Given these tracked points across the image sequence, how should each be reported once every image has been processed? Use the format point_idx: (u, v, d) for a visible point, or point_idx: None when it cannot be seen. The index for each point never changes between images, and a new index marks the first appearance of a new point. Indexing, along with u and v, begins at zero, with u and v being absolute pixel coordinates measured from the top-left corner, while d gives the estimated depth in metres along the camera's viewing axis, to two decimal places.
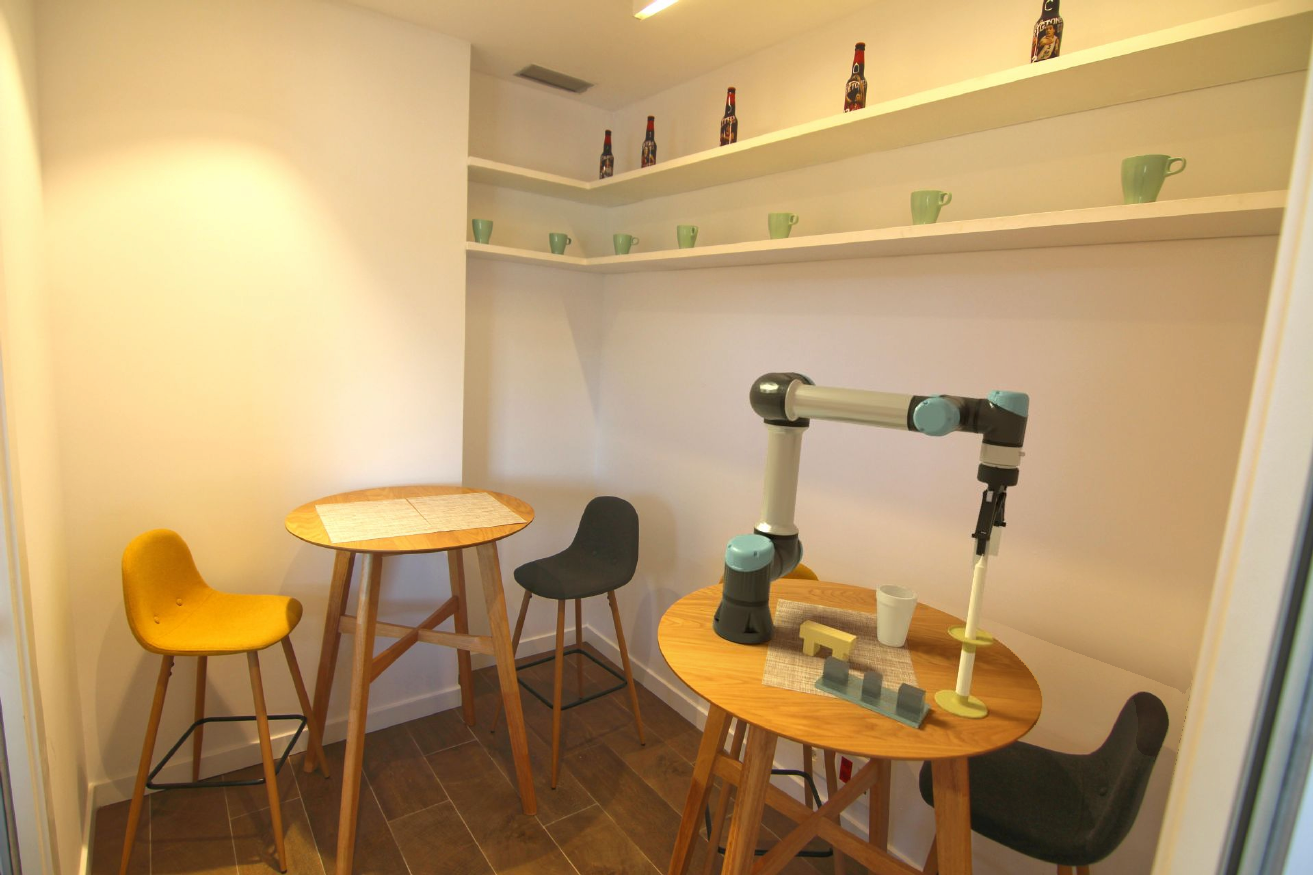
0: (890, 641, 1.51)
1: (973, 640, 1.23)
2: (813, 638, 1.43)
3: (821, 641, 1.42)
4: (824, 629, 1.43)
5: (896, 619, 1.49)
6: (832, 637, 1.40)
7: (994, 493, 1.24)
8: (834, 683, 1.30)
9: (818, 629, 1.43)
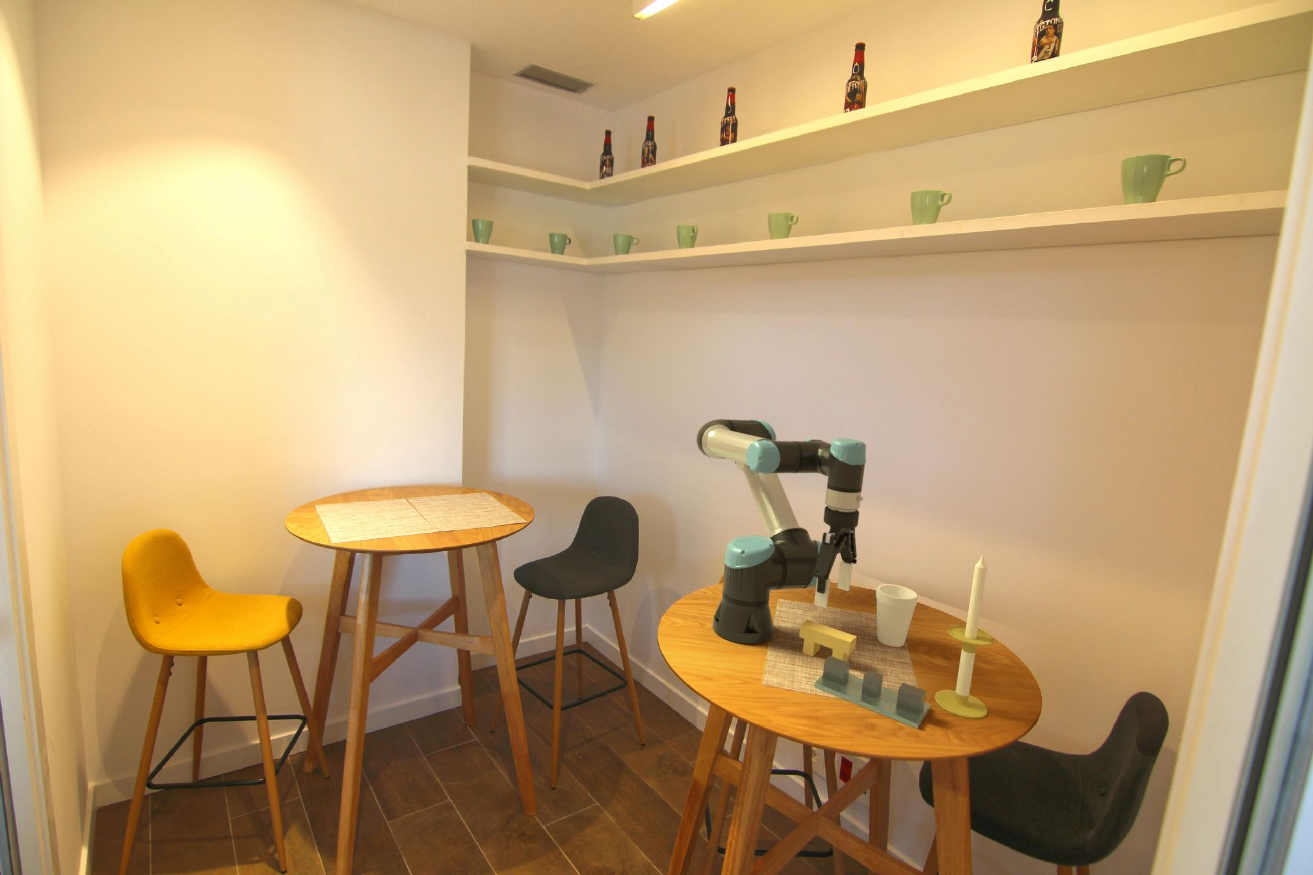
0: (890, 641, 1.51)
1: (973, 640, 1.23)
2: (813, 638, 1.43)
3: (821, 641, 1.42)
4: (824, 629, 1.43)
5: (896, 619, 1.49)
6: (832, 637, 1.40)
7: (832, 535, 1.34)
8: (834, 683, 1.30)
9: (818, 629, 1.43)
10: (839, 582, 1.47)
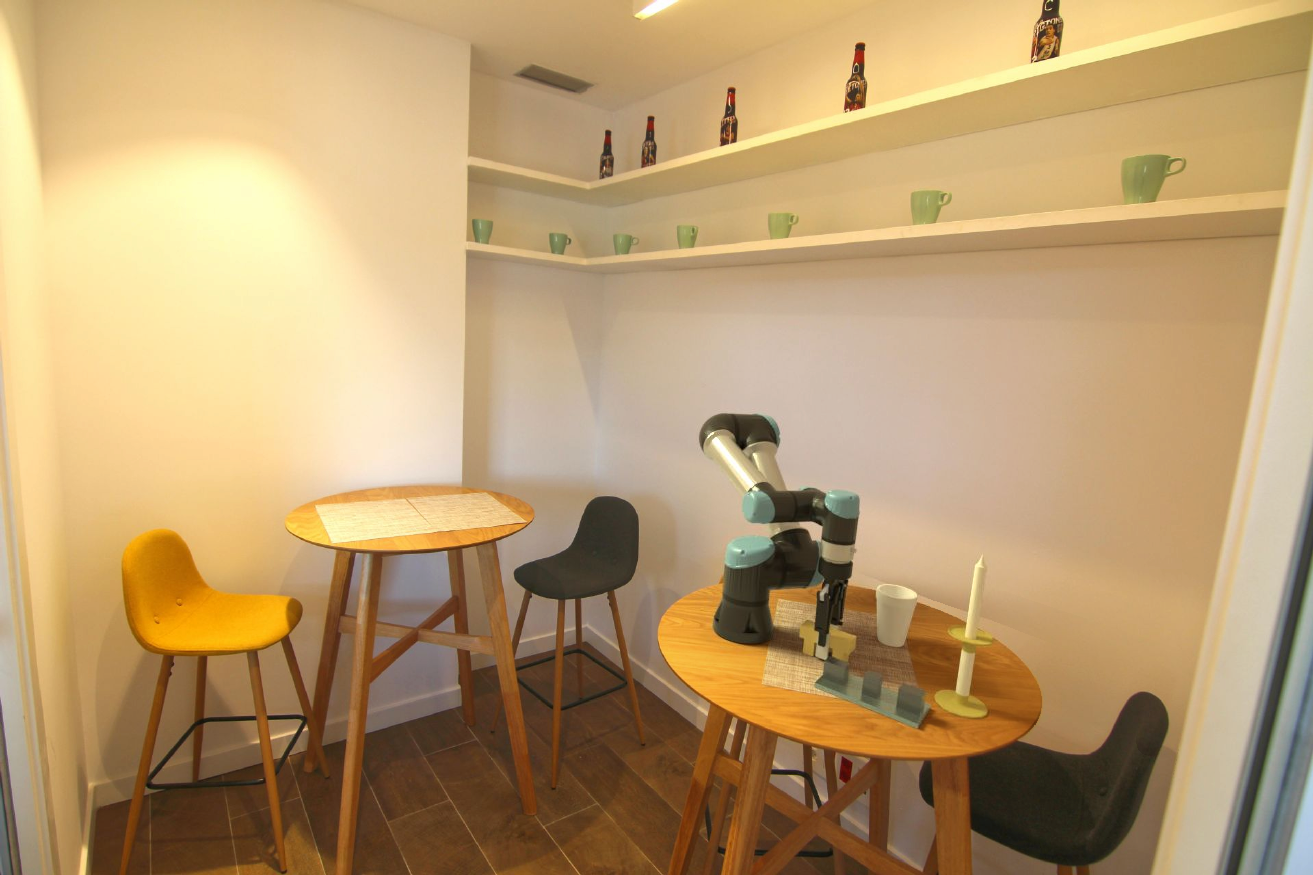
0: (890, 641, 1.51)
1: (973, 640, 1.23)
2: (813, 638, 1.43)
3: None
4: None
5: (896, 619, 1.49)
6: (832, 637, 1.40)
7: (825, 595, 1.36)
8: (834, 683, 1.30)
9: None
10: None
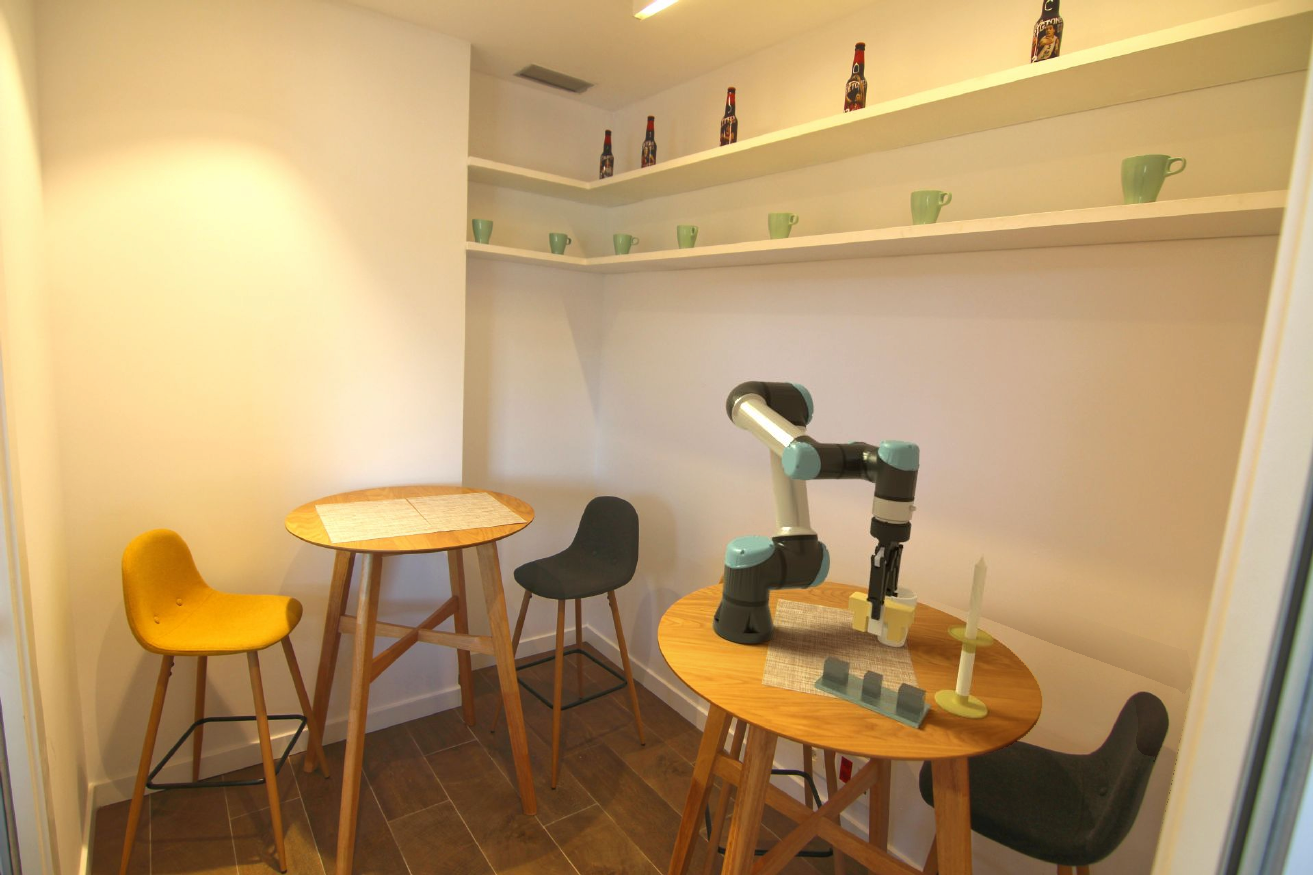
0: (890, 641, 1.51)
1: (973, 640, 1.23)
2: (865, 611, 1.25)
3: None
4: None
5: None
6: (888, 609, 1.22)
7: (881, 559, 1.18)
8: (834, 683, 1.30)
9: None
10: None
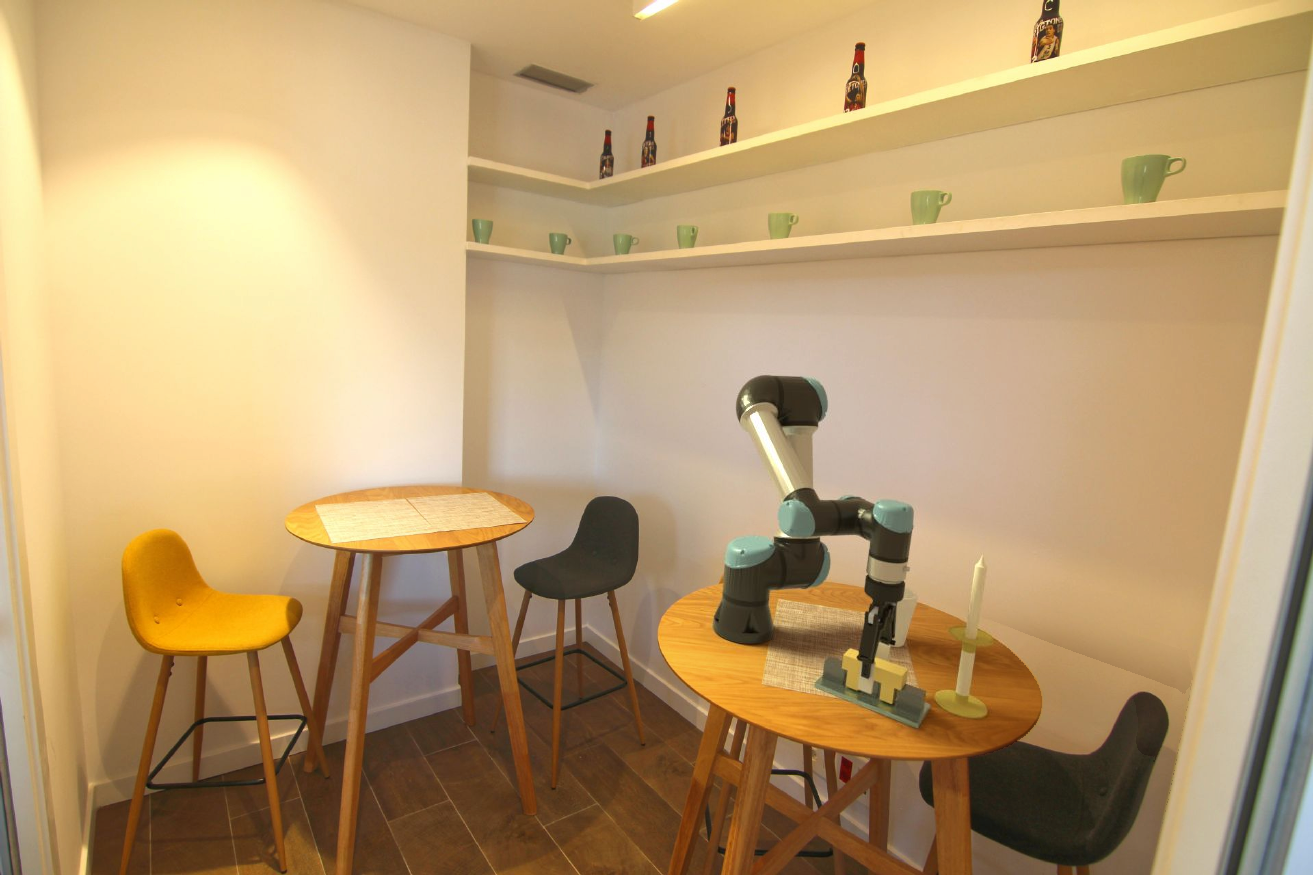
0: None
1: (973, 640, 1.23)
2: (858, 670, 1.27)
3: None
4: None
5: (896, 619, 1.49)
6: (881, 670, 1.24)
7: (875, 616, 1.19)
8: (834, 683, 1.30)
9: None
10: None
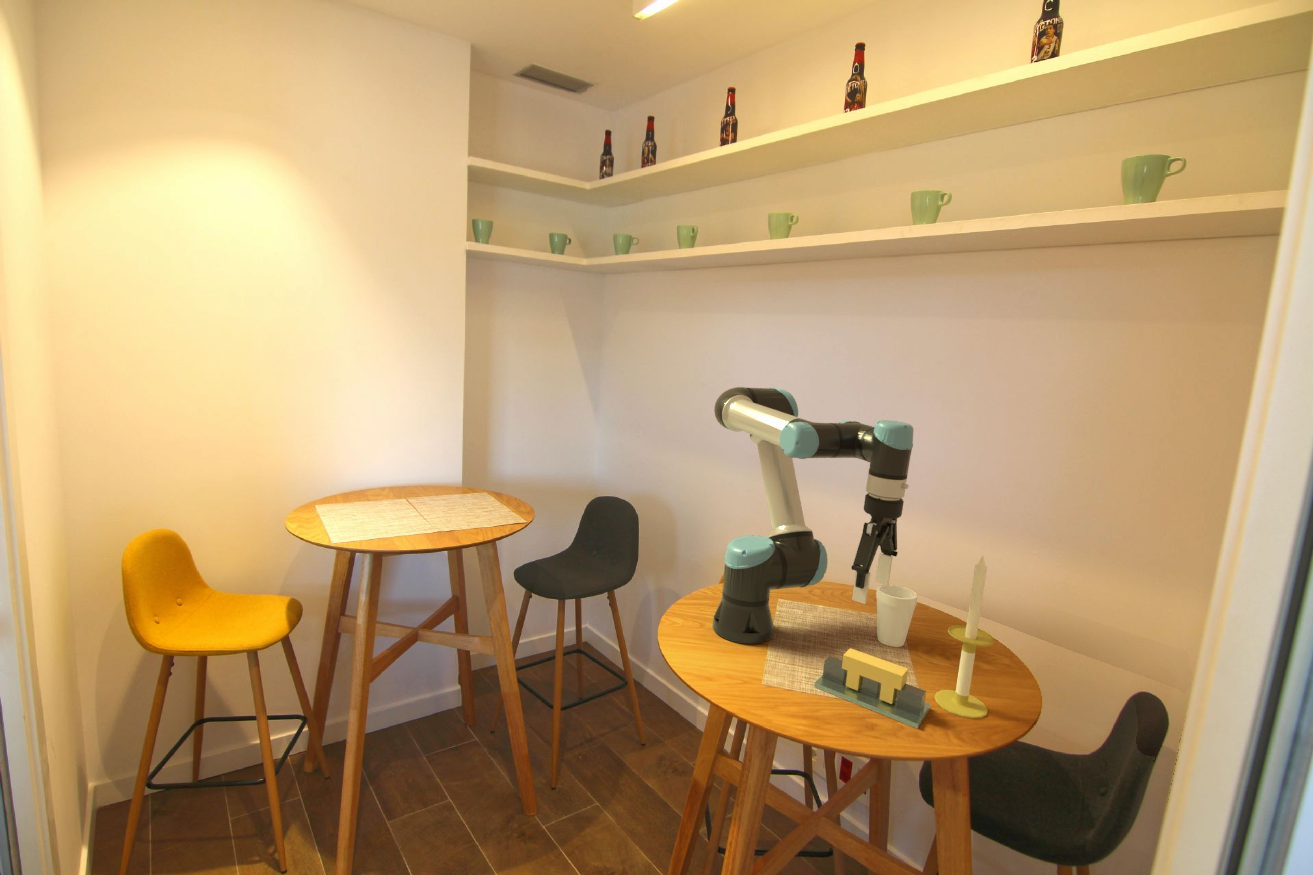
0: (890, 641, 1.51)
1: (973, 640, 1.23)
2: (858, 670, 1.27)
3: (868, 673, 1.25)
4: (871, 660, 1.27)
5: (896, 619, 1.49)
6: (881, 670, 1.24)
7: (874, 526, 1.23)
8: (834, 683, 1.30)
9: (864, 660, 1.27)
10: (877, 575, 1.36)
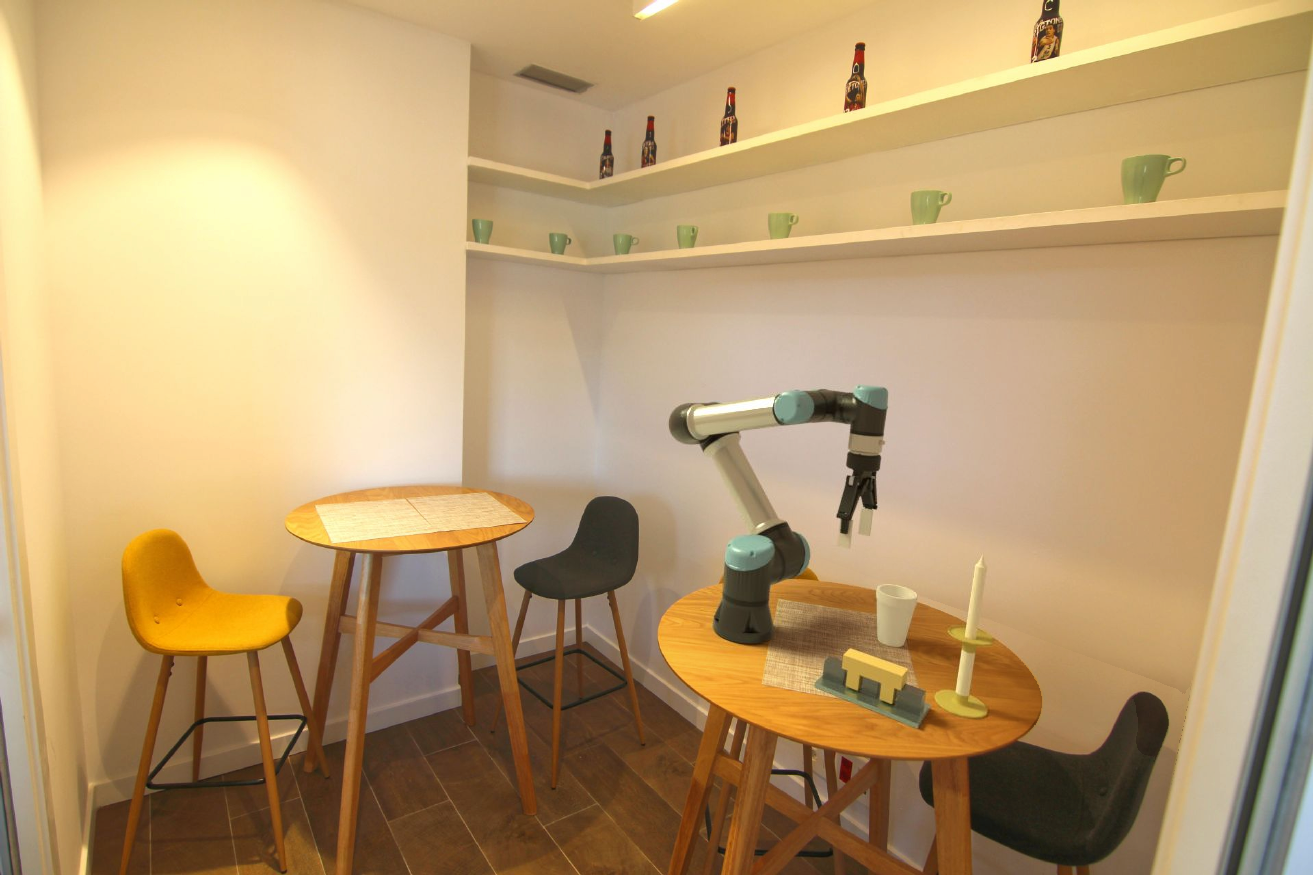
0: (890, 641, 1.51)
1: (973, 640, 1.23)
2: (858, 670, 1.27)
3: (868, 673, 1.25)
4: (871, 660, 1.27)
5: (896, 619, 1.49)
6: (881, 670, 1.24)
7: (855, 477, 1.38)
8: (834, 683, 1.30)
9: (864, 660, 1.27)
10: (860, 528, 1.51)
